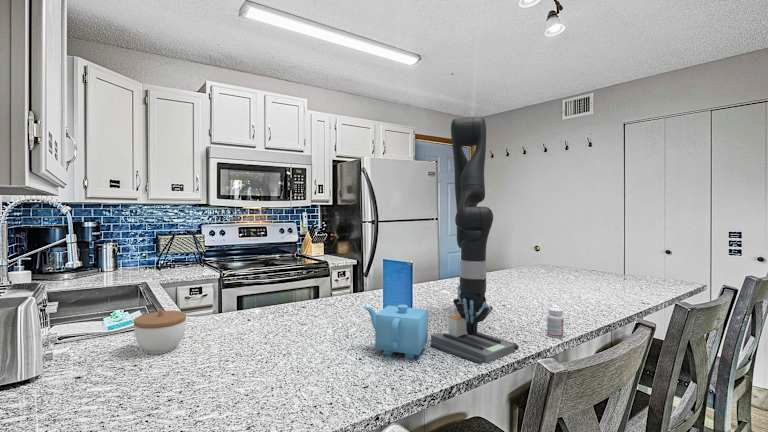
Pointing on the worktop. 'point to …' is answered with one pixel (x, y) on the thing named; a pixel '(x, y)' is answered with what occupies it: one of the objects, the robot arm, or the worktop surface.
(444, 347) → the cord
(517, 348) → the dark grey rod
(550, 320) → the pill bottle
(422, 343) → the teapot
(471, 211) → the robot arm
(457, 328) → the grey orange rectangular block
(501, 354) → the panel
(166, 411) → the worktop surface
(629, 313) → the worktop surface
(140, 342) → the lidded bowl
